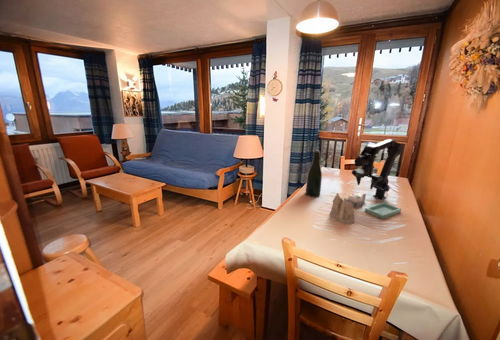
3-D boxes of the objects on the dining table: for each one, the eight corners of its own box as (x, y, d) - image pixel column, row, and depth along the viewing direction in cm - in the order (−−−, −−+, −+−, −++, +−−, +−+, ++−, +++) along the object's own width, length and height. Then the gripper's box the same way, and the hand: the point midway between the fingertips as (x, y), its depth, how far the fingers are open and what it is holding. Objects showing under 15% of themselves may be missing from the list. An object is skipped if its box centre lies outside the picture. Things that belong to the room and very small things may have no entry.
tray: (382, 205, 147) (383, 202, 146) (400, 212, 137) (401, 208, 137) (364, 211, 138) (365, 207, 137) (382, 219, 128) (382, 215, 128)
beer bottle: (302, 192, 166) (306, 149, 156) (313, 190, 170) (318, 148, 160) (311, 198, 156) (316, 152, 147) (323, 195, 160) (328, 151, 151)
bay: (350, 200, 153) (351, 196, 152) (362, 205, 146) (362, 201, 145) (343, 202, 150) (344, 198, 149) (355, 208, 142) (356, 203, 141)
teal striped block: (360, 199, 155) (361, 191, 153) (366, 202, 151) (368, 194, 149) (348, 203, 149) (349, 195, 147) (354, 206, 145) (356, 197, 143)
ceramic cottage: (342, 225, 121) (346, 199, 118) (324, 212, 136) (328, 189, 133) (365, 223, 125) (370, 198, 122) (345, 211, 141) (349, 189, 137)
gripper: (347, 162, 149) (344, 184, 153) (374, 170, 133) (370, 194, 138) (358, 161, 154) (355, 182, 158) (385, 167, 138) (380, 190, 143)
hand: (364, 187), depth 149 cm, fingers open, 9 cm apart
